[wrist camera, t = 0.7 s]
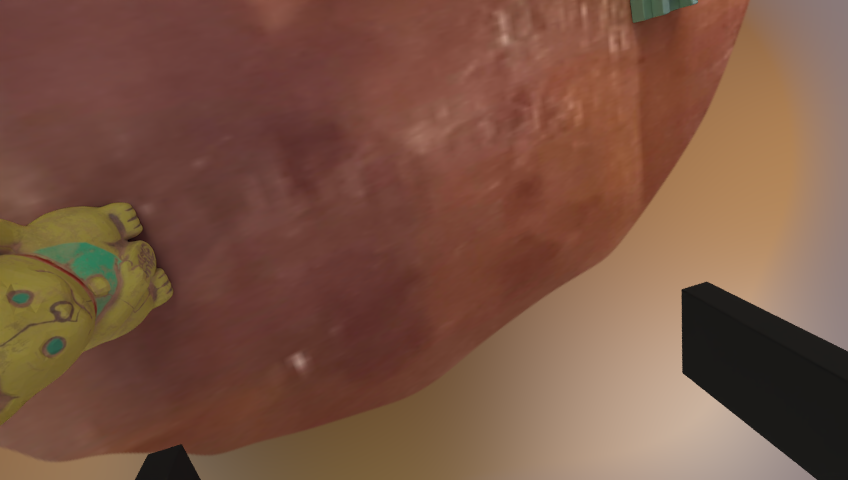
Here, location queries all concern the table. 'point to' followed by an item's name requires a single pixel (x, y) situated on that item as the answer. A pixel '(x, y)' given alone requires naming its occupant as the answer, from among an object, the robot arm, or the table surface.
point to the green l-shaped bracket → (656, 8)
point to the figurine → (69, 292)
